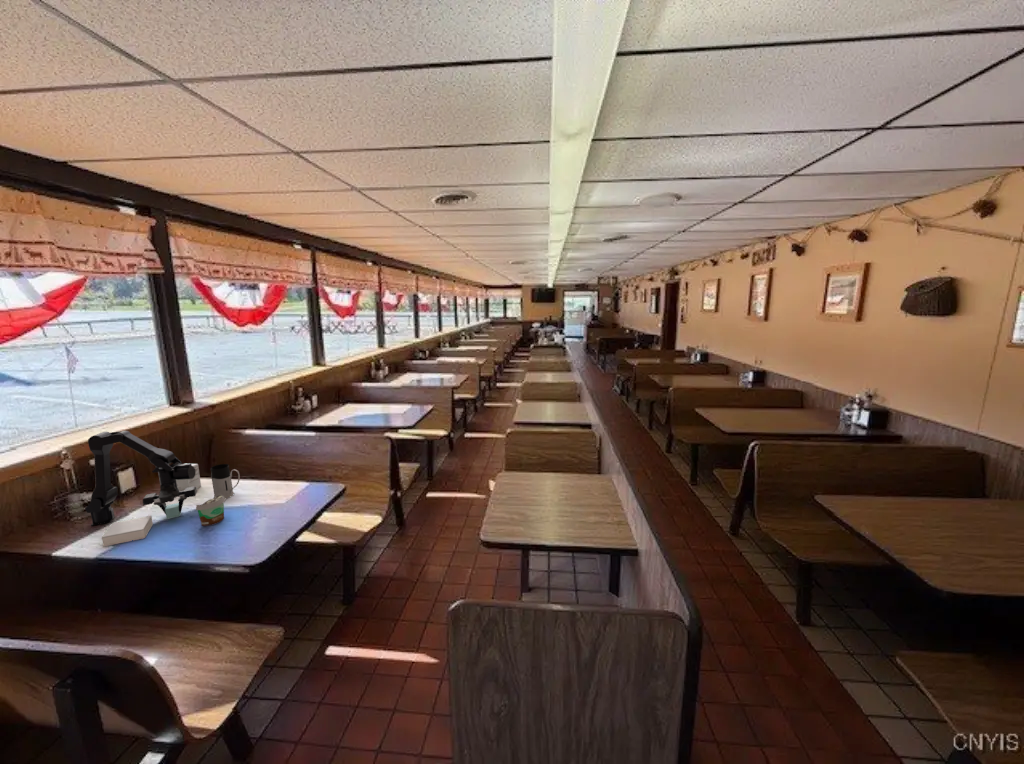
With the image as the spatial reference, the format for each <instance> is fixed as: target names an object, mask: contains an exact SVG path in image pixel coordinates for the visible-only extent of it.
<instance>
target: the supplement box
mask: <svg viewBox="0 0 1024 764" xmlns="http://www.w3.org/2000/svg"><path fill="white" fill-rule="evenodd" d="M184 464H188V463H184ZM191 465H192V466H193V467H194V468H195V470H196V473H195V477H194V478H193V479H184V480H177V479H176V480H177V488H178V490H179V491H184V490H185V489H186V488H188V487H194V486H195V487H196V488H197V490H198V489H200V488H202V483H201V476H200V469H199V464H198V463H191Z"/></svg>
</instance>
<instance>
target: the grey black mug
mask: <svg viewBox="0 0 1024 764" xmlns="http://www.w3.org/2000/svg"><path fill="white" fill-rule="evenodd" d="M234 471H235V472H236V473H237V481H236V484H235V485H234V486H233V481H232V477H233V472H234ZM210 473H211V474H210V477H211V478H210V479H211V482H212V483H211V484H212V489H213V498H215V497H217V496H218V494H222V495H223V496H224V498H226V499H228V497H229V498H231V497H230V496H232V495H233V494H234V495H235V492H234V489H235V488H236V487H237V486H238V485H239V483H240V480H241V479H240V478H241V476H240V475H241V474H240V471H239V470H237V469H235V468H234V469H232V470H231V471H230V465H229V464H228V463H222V464H221V463H220V464H216V465H213V466H211V467H210ZM234 495H233V496H234ZM233 496H232V497H233Z"/></svg>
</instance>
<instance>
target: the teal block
mask: <svg viewBox="0 0 1024 764" xmlns="http://www.w3.org/2000/svg"><path fill="white" fill-rule="evenodd" d="M165 513H166V514H165ZM165 513H164V514H165V518H166V520H168V519H173V518H179V517H180V516H181V515H182V511H181V512H179V502H177V503H172V504H166V508H165Z"/></svg>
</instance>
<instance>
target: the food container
mask: <svg viewBox="0 0 1024 764" xmlns="http://www.w3.org/2000/svg"><path fill="white" fill-rule="evenodd" d="M225 501H226V499H225V498H224V496H223V495H222V494H218V496H217V497H215V498H214V497H213V498H210V499H208V500H206V501H205V502H204V503H202V504H196V506H195V510H196V511H197V513H198V516H199V521H200V524H201V525H200V526H202V527H207V526H208V527H209V526H214V525H216V524H217V525H218V523H219V524H220V522H222V521H223V520H225V509H224V507H225V505H224V502H225Z"/></svg>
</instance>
